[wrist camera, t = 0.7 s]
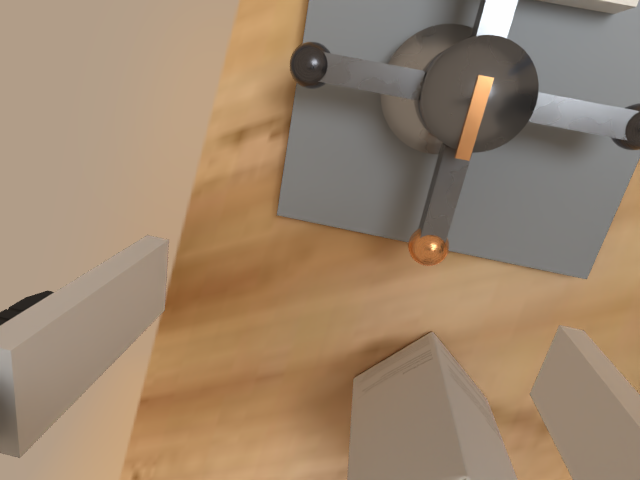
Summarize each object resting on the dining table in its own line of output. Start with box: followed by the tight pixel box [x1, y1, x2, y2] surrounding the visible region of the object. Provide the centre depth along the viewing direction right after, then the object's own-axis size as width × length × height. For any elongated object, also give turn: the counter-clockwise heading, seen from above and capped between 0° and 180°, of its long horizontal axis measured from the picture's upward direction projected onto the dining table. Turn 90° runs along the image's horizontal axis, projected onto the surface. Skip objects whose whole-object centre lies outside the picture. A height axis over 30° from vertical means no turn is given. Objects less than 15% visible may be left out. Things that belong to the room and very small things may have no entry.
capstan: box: [290, 0, 640, 266], centre depth 26 cm, size 22×22×6 cm
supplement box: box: [347, 332, 517, 480], centre depth 32 cm, size 9×9×15 cm
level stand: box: [277, 0, 640, 279], centre depth 29 cm, size 24×21×4 cm
